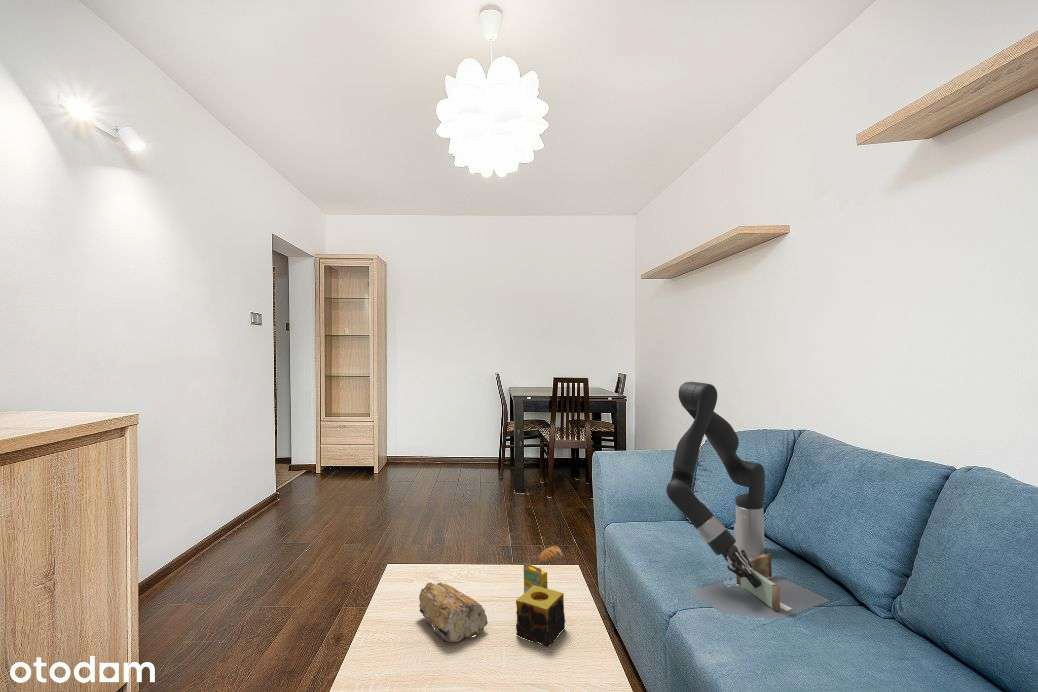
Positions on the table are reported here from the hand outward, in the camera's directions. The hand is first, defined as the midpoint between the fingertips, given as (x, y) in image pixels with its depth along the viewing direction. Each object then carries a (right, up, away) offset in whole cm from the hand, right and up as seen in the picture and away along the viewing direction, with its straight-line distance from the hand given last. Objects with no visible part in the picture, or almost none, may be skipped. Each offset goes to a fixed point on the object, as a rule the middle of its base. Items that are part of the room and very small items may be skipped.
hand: (758, 585), depth 148 cm
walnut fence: (+6, -5, +14) cm, 16 cm away
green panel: (+1, -4, +3) cm, 6 cm away
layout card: (+1, -5, +4) cm, 7 cm away
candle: (-65, -7, -12) cm, 66 cm away
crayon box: (-65, -7, +4) cm, 66 cm away
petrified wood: (-90, -8, -7) cm, 90 cm away
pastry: (-59, -7, +34) cm, 69 cm away
